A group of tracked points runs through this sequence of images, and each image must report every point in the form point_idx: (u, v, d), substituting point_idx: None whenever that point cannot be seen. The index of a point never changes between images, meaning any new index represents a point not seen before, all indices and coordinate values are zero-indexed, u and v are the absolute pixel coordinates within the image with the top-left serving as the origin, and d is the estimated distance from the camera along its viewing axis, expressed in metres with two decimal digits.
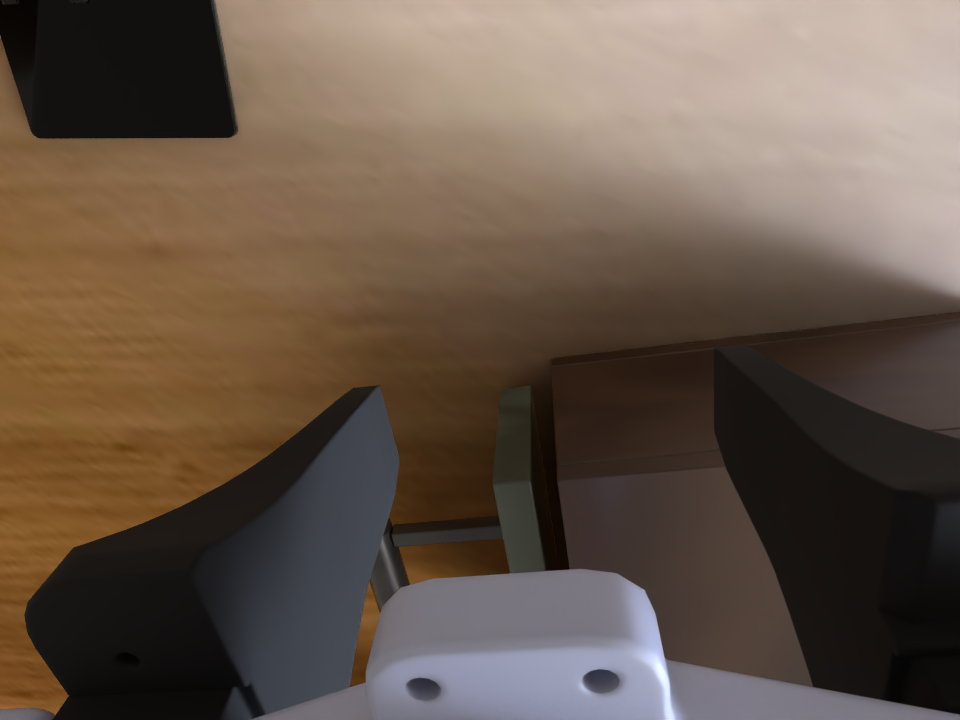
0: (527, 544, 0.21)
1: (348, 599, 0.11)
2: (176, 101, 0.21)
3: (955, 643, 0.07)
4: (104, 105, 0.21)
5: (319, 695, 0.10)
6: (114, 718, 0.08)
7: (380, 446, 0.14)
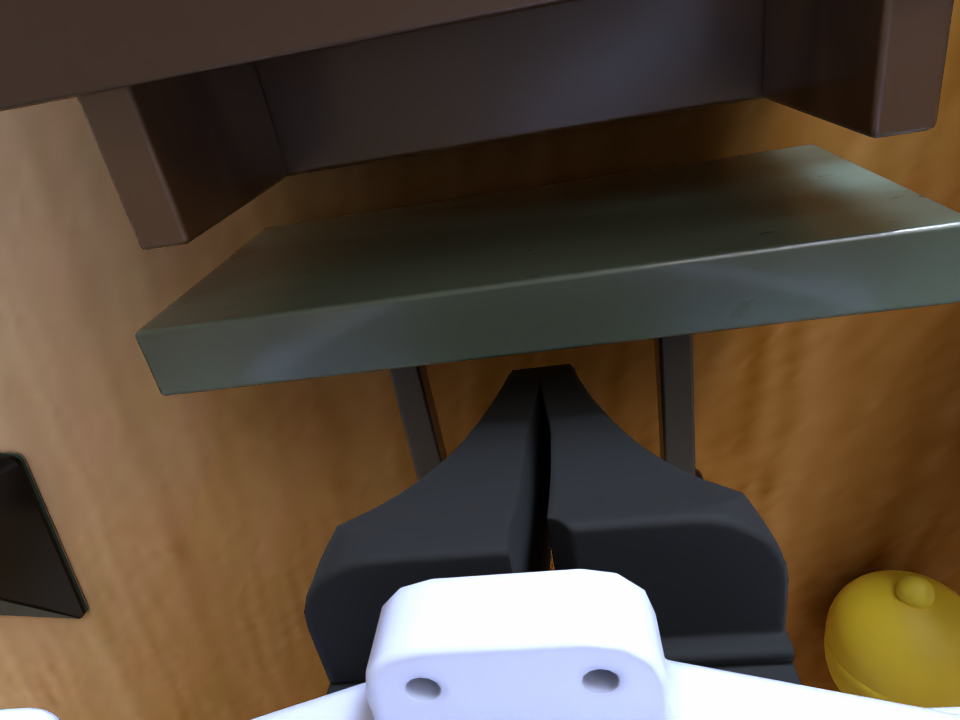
0: (291, 339, 0.10)
1: None
2: None
3: None
4: (25, 560, 0.22)
5: None
6: None
7: (546, 430, 0.13)
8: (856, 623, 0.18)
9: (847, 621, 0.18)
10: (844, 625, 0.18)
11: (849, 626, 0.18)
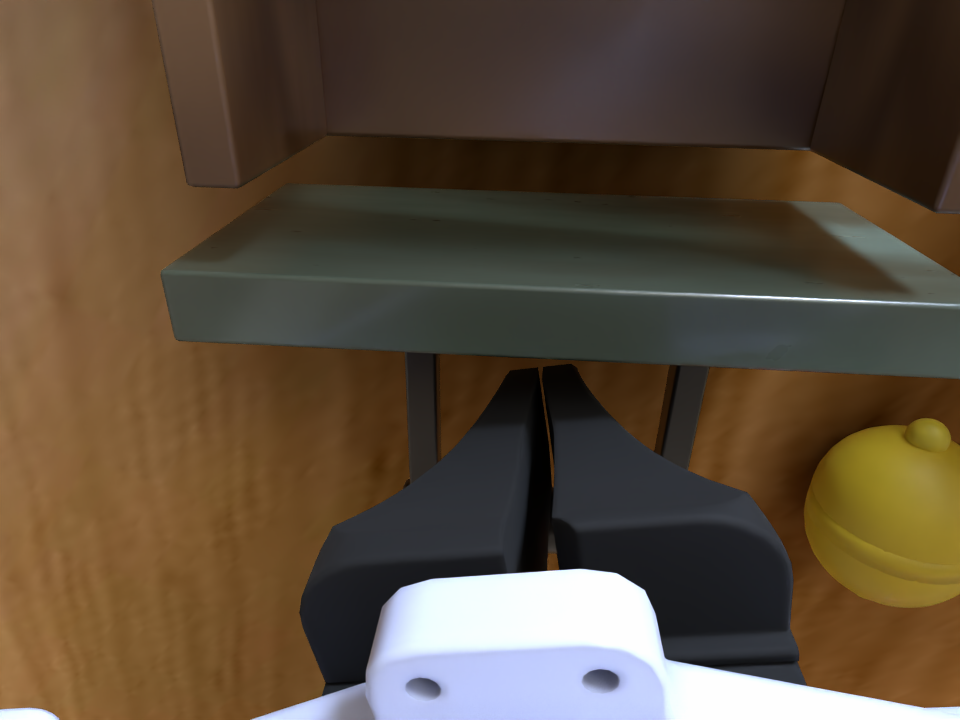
0: (327, 305, 0.10)
1: None
2: None
3: None
4: None
5: None
6: None
7: (543, 430, 0.13)
8: (855, 467, 0.16)
9: (844, 467, 0.16)
10: (839, 471, 0.16)
11: (846, 471, 0.16)
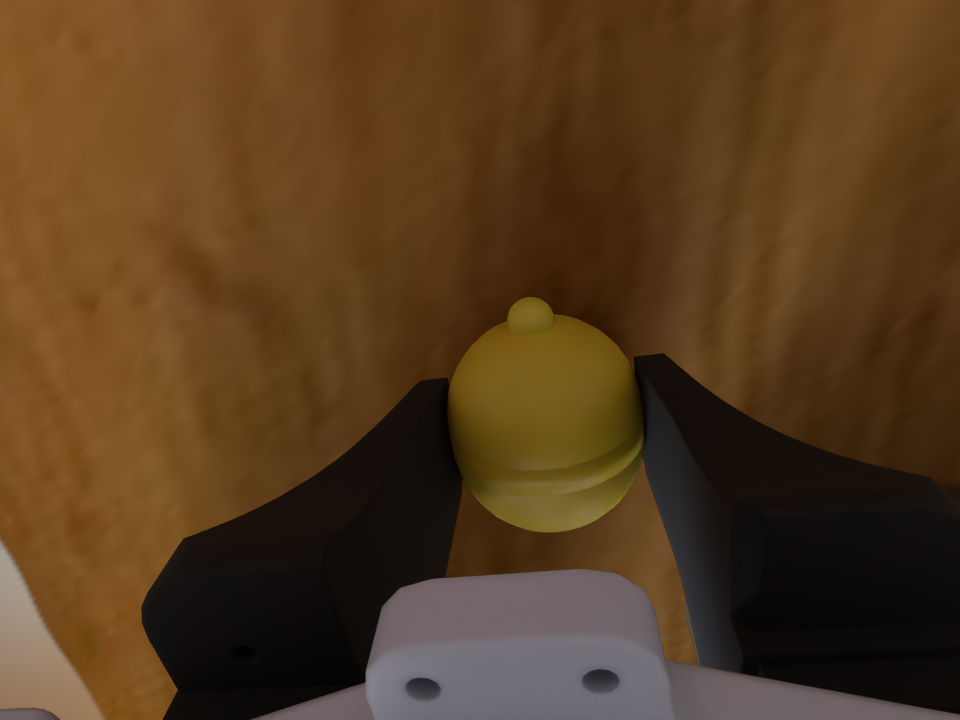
0: None
1: None
2: None
3: (795, 651, 0.07)
4: None
5: None
6: (230, 713, 0.08)
7: None
8: None
9: None
10: None
11: None
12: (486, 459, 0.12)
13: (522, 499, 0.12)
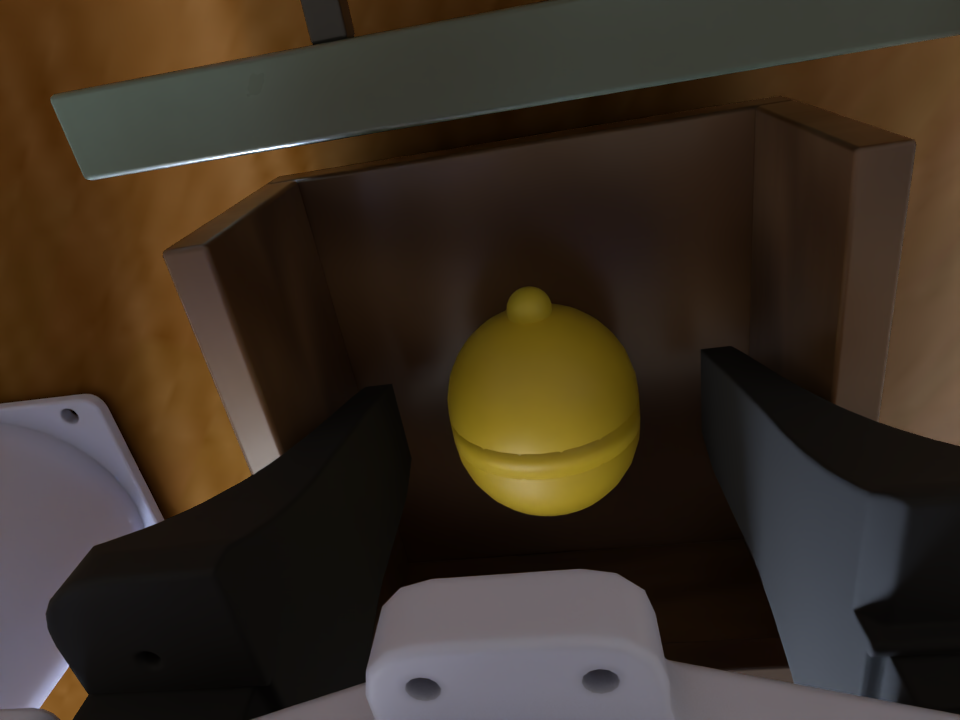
0: (776, 27, 0.08)
1: (363, 598, 0.11)
2: None
3: (928, 644, 0.07)
4: None
5: None
6: (135, 717, 0.08)
7: (393, 445, 0.14)
8: None
9: None
10: None
11: None
12: (484, 443, 0.12)
13: (518, 482, 0.13)
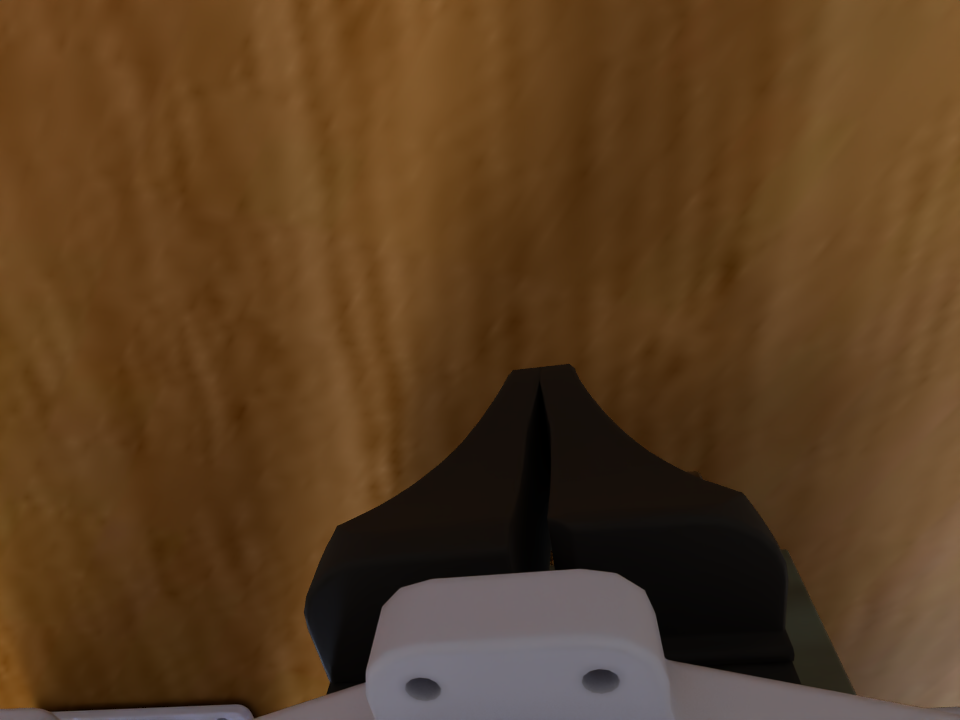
0: None
1: None
2: None
3: None
4: None
5: None
6: None
7: (546, 430, 0.13)
8: None
9: None
10: None
11: None
12: None
13: None
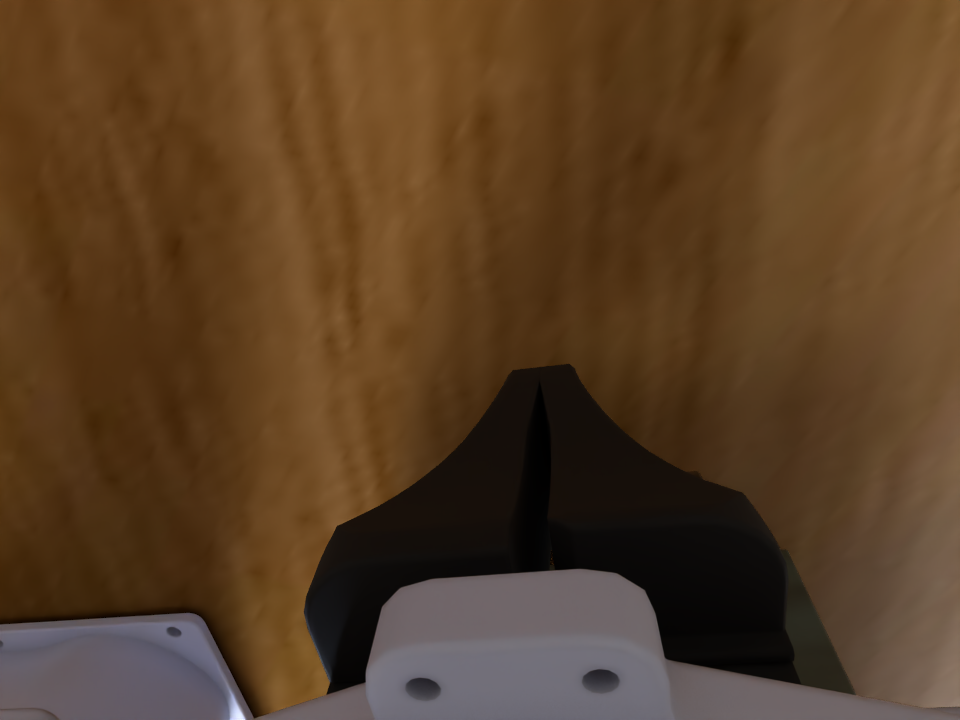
0: None
1: None
2: None
3: None
4: None
5: None
6: None
7: (546, 430, 0.13)
8: None
9: None
10: None
11: None
12: None
13: None
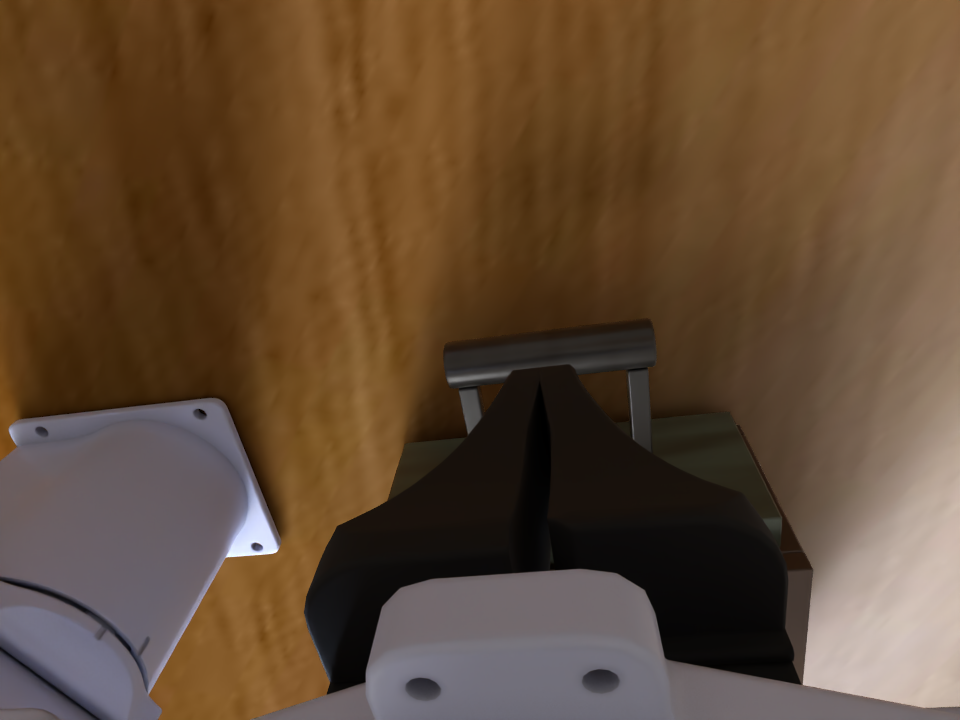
0: None
1: None
2: None
3: None
4: None
5: None
6: None
7: (546, 430, 0.13)
8: None
9: None
10: None
11: None
12: None
13: None
